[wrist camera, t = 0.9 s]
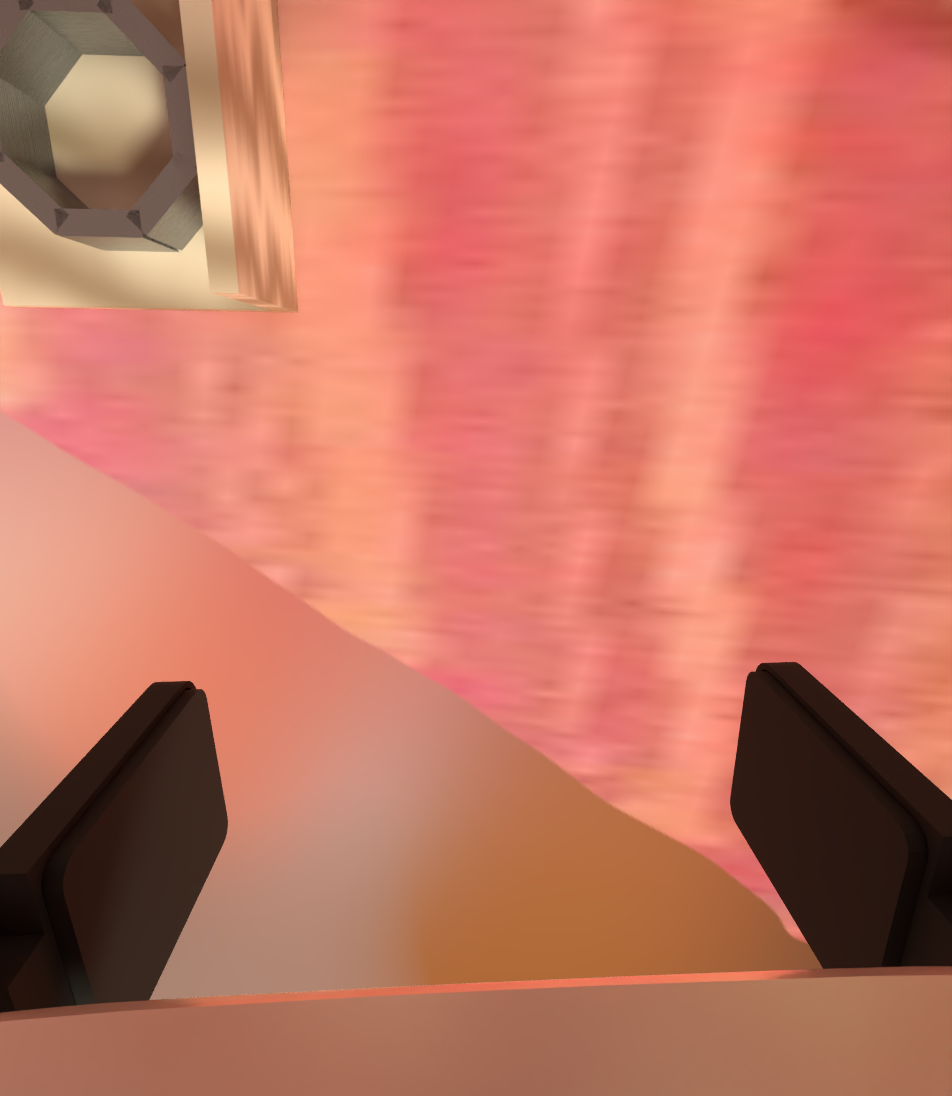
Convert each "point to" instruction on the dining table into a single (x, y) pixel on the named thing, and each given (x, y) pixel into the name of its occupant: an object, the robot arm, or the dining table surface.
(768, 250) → the dining table surface
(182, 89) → the holder
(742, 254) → the dining table surface
